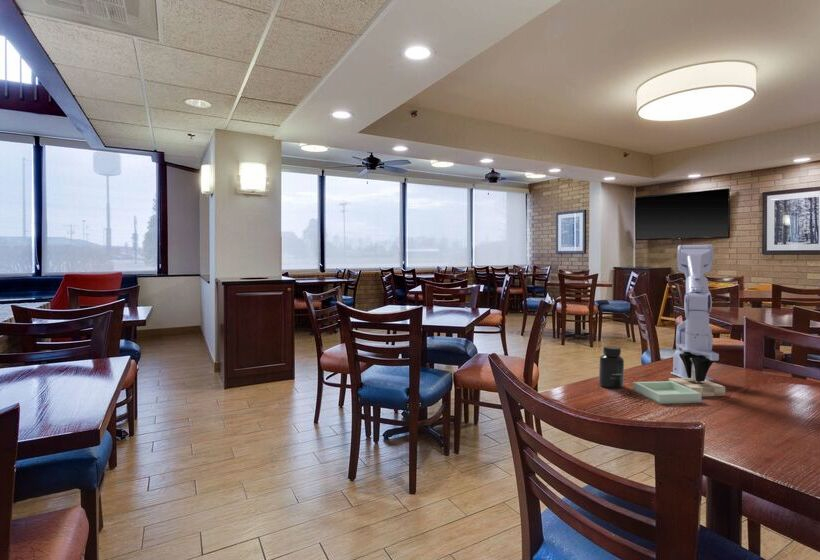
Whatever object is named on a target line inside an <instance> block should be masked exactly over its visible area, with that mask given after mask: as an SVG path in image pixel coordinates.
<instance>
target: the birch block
mask: <svg viewBox="0 0 820 560" xmlns="http://www.w3.org/2000/svg"><path fill="white" fill-rule="evenodd" d="M667 381H673V382H675V383H678V384H680V385H682V386H685V387H687V388H690V389H692V390H695V391H697V392H699V393H702V397H720V396H721V397H722V396H726V386H723V385H721V384H719V383H715V382H714V381H712V380H711V381H708V380H704V381H701V384H693V383H691V378H681V377H669V378H668V380H667Z"/></svg>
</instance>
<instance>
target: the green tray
mask: <svg viewBox="0 0 820 560" xmlns="http://www.w3.org/2000/svg"><path fill="white" fill-rule="evenodd" d="M632 391H633V392H635V393H637V394H639V395H641V396H643V397H645V398H647V399H649V400H650V401H653V402H655V403H657V404H658V405H661V404H662V405H663V404H664V405H666V404H667V405H668V404H693V403H694V404H696V403H699V404H700V403H702V401H703V399H702V397H703V396H702V393H699V392H697V391H695V390H692V389H690V388H687V387H685V386H682V385H680V384H678V383H675V382H673V381H668V380H665V381H663V380H662V381H633V382H632Z"/></svg>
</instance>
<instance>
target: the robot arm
mask: <svg viewBox="0 0 820 560" xmlns="http://www.w3.org/2000/svg"><path fill="white" fill-rule="evenodd" d="M676 255H677V268H678V271H679V272H681V273H682V274H684V277H685V294H684V299H683V301H684V303H683V306H684V307H683V308H684V313H685V314H684V317H685V320H684V321H682V322H680V323H679V324H678V325H677V326H676V332H675V333H676V334H675V347H676V350H675V352H673V358H672V360H673V361H672V371H670V374H671V375H673V376H676V377H677V378H691V361H690V358H691V359H692V361H693V364H694V368H695V378H696V381H704V380H708V381H711V382H712V381H714V379H713V378H711V377H708V376H707V374H708V372H709V370H710V368H711V366H712V365H713V364H714V362H717V361H719V360H720V354H719V353H718V352H715V351H713V330H712V327H711V326H710V313H711V311H712V307H713V306H712V304H713V303H712V302H713V301H712V294H711V291H710V290H709V279H708V277H706V276H705V275H704V274H706V273H708V272H710V271H711V268H712V265H713V261H714V246H713V245H712V243H708V244H683V245H682V244H679V245H678V246H677V253H676Z"/></svg>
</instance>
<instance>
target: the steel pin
mask: <svg viewBox="0 0 820 560" xmlns="http://www.w3.org/2000/svg"><path fill="white" fill-rule="evenodd" d="M690 361H691V383H693V384H701V381H696V378H695V368H694V364H693V361H692V359H691V358H690Z"/></svg>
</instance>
